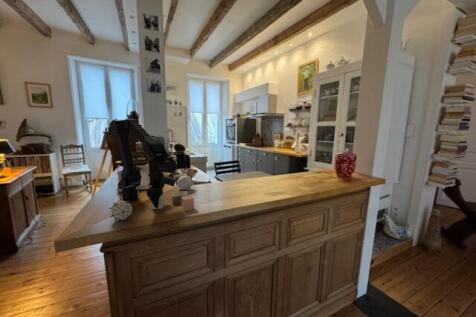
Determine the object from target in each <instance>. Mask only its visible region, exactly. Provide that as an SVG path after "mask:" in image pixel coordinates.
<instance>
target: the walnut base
mask: <svg viewBox="0 0 476 317" xmlns="http://www.w3.org/2000/svg"><path fill="white" fill-rule="evenodd" d="M183 196H188V190H179V191H173V192H172V195H171V199H172V201H171V202H172V205H177V204H180V205H181V197H183Z"/></svg>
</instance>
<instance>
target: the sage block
mask: <svg viewBox="0 0 476 317" xmlns="http://www.w3.org/2000/svg"><path fill="white" fill-rule="evenodd" d="M163 208H164V194H163V195H162V196H160V197H159V204H158V208H155V207H154V205H153V203H152V202H151V210H158V209H160V210H161V209H163Z"/></svg>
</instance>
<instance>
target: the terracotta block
mask: <svg viewBox="0 0 476 317" xmlns="http://www.w3.org/2000/svg"><path fill="white" fill-rule="evenodd" d="M180 207H181V209H182V210H183V211H184V212H185V211H189V210H190V211H191V210H194V209H195V198H194V197H193V196H192V195H187V196H183V197H181V203H180Z"/></svg>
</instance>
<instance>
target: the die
mask: <svg viewBox="0 0 476 317" xmlns="http://www.w3.org/2000/svg"><path fill="white" fill-rule="evenodd" d="M175 184H176V185H177V188H178V189H179V191H190V190H191V188H192V187H193V184H194V182H193V180H192V178H191V176H190V175H180V176H179V178H178V179H177V180H176V182H175Z"/></svg>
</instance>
